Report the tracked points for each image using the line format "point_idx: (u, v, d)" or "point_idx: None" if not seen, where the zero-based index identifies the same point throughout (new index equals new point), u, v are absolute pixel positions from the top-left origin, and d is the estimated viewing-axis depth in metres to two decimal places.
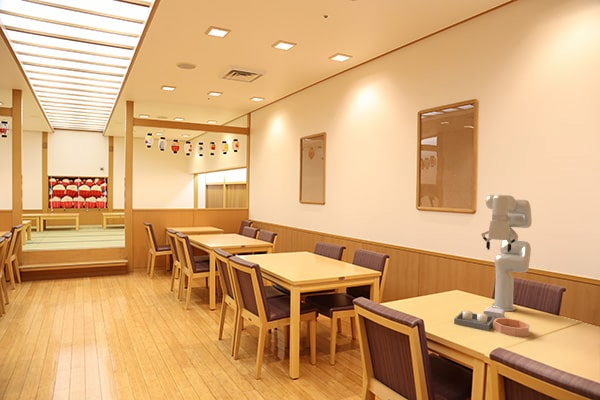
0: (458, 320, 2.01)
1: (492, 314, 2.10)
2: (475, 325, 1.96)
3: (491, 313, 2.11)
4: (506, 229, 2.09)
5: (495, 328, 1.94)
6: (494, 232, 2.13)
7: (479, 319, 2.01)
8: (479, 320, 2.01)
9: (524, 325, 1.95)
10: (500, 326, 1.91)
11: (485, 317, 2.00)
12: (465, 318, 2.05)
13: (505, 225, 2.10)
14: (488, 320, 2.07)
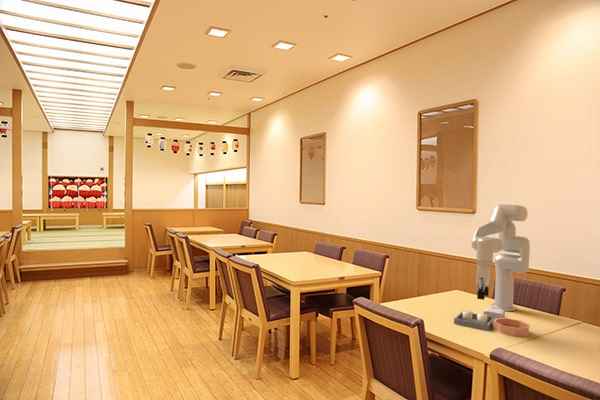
0: (458, 320, 2.01)
1: (492, 315, 2.10)
2: (475, 325, 1.96)
3: (491, 313, 2.10)
4: None
5: (495, 328, 1.94)
6: (487, 279, 1.98)
7: (479, 319, 2.01)
8: (479, 320, 2.01)
9: (524, 325, 1.95)
10: (500, 326, 1.91)
11: (485, 317, 2.00)
12: (465, 318, 2.05)
13: None
14: (488, 320, 2.07)
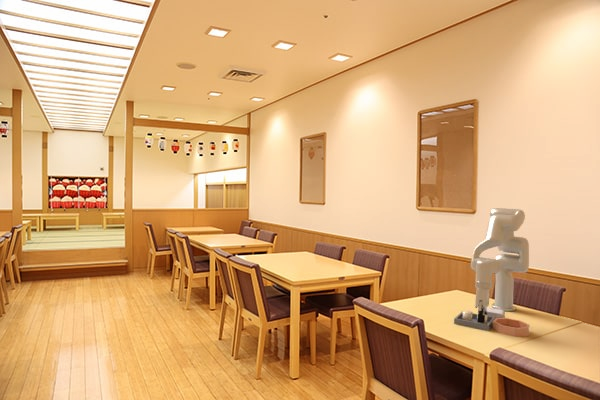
0: (458, 320, 2.01)
1: (492, 315, 2.09)
2: (475, 325, 1.96)
3: (491, 314, 2.10)
4: None
5: (495, 328, 1.94)
6: (486, 301, 1.99)
7: None
8: None
9: (524, 325, 1.95)
10: (500, 326, 1.91)
11: (485, 317, 2.00)
12: (465, 318, 2.05)
13: None
14: (488, 320, 2.07)
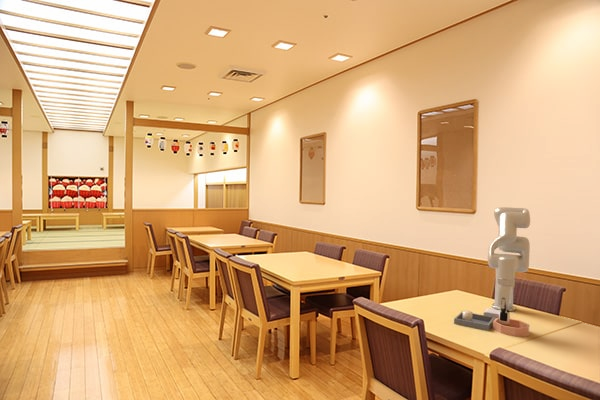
0: (458, 320, 2.01)
1: (492, 316, 2.08)
2: (475, 325, 1.96)
3: (491, 314, 2.08)
4: None
5: (495, 328, 1.94)
6: (509, 298, 1.93)
7: None
8: None
9: (524, 325, 1.95)
10: (500, 326, 1.91)
11: (508, 315, 1.94)
12: (465, 318, 2.05)
13: None
14: (488, 320, 2.07)
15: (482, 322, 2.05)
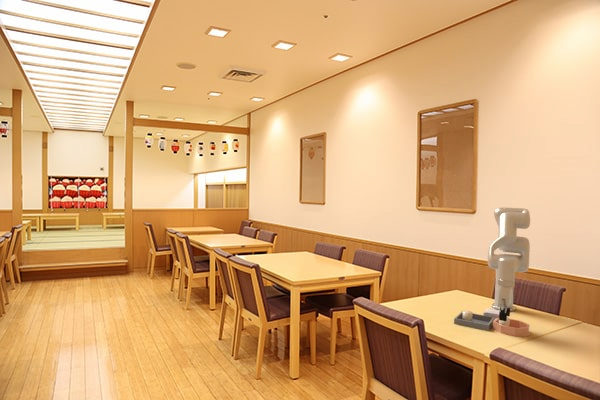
0: (458, 320, 2.01)
1: (492, 316, 2.08)
2: (475, 325, 1.96)
3: (491, 314, 2.08)
4: None
5: (495, 328, 1.94)
6: (509, 299, 1.93)
7: (501, 322, 1.95)
8: (501, 324, 1.95)
9: (524, 325, 1.95)
10: (500, 326, 1.91)
11: (507, 320, 1.94)
12: (465, 318, 2.05)
13: None
14: (488, 320, 2.07)
15: (482, 322, 2.05)
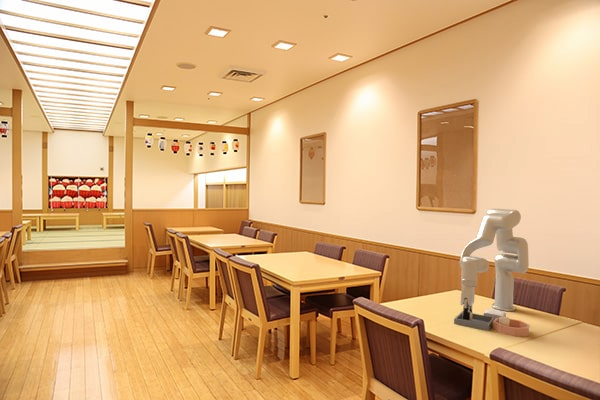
0: (458, 320, 2.01)
1: None
2: (475, 325, 1.96)
3: (491, 315, 2.07)
4: (474, 293, 2.07)
5: (495, 328, 1.94)
6: (471, 298, 2.03)
7: (501, 322, 1.95)
8: (501, 324, 1.95)
9: (524, 325, 1.95)
10: (500, 326, 1.91)
11: (507, 320, 1.94)
12: None
13: (474, 289, 2.07)
14: (488, 320, 2.07)
15: (482, 322, 2.05)
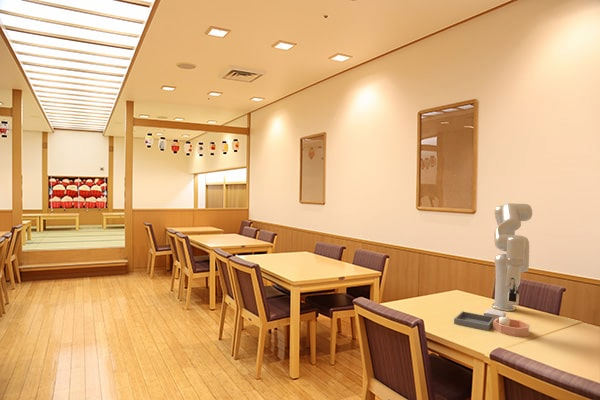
0: (458, 320, 2.01)
1: None
2: (475, 325, 1.96)
3: (491, 315, 2.07)
4: None
5: (495, 328, 1.94)
6: (518, 279, 1.91)
7: (501, 322, 1.95)
8: (501, 324, 1.95)
9: (524, 325, 1.95)
10: (500, 326, 1.91)
11: (507, 320, 1.94)
12: None
13: None
14: (488, 320, 2.07)
15: (482, 322, 2.05)
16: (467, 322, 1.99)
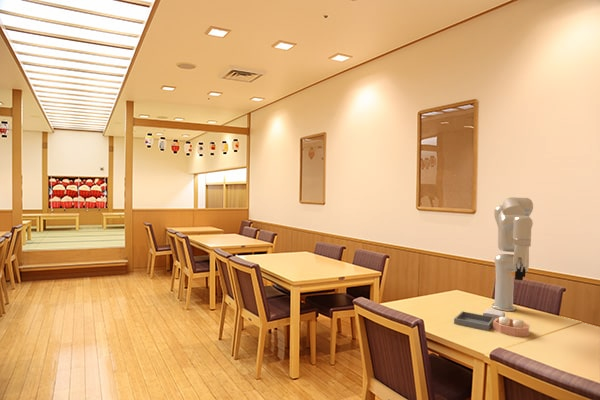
0: (458, 320, 2.01)
1: (492, 316, 2.07)
2: (475, 325, 1.96)
3: (490, 315, 2.07)
4: None
5: (495, 328, 1.94)
6: (525, 258, 1.89)
7: (501, 322, 1.95)
8: (501, 324, 1.95)
9: (524, 325, 1.95)
10: (500, 326, 1.91)
11: (507, 320, 1.94)
12: (516, 327, 1.91)
13: None
14: (488, 320, 2.07)
15: (482, 322, 2.05)
16: (467, 322, 1.99)
